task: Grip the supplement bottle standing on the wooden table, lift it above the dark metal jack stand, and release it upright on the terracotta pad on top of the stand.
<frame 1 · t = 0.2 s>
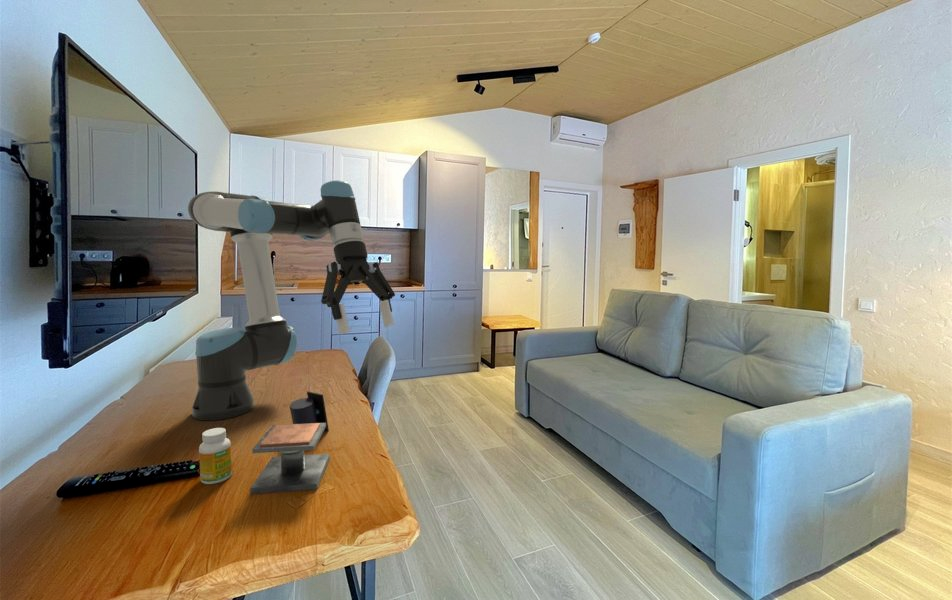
hand: (368, 329, 96), 28 cm above the table, tool tilted 20°, fingers open, 13 cm apart
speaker: (308, 434, 102), on the table
jack stand: (293, 475, 83), on the table
supplement bottle: (216, 478, 82), on the table
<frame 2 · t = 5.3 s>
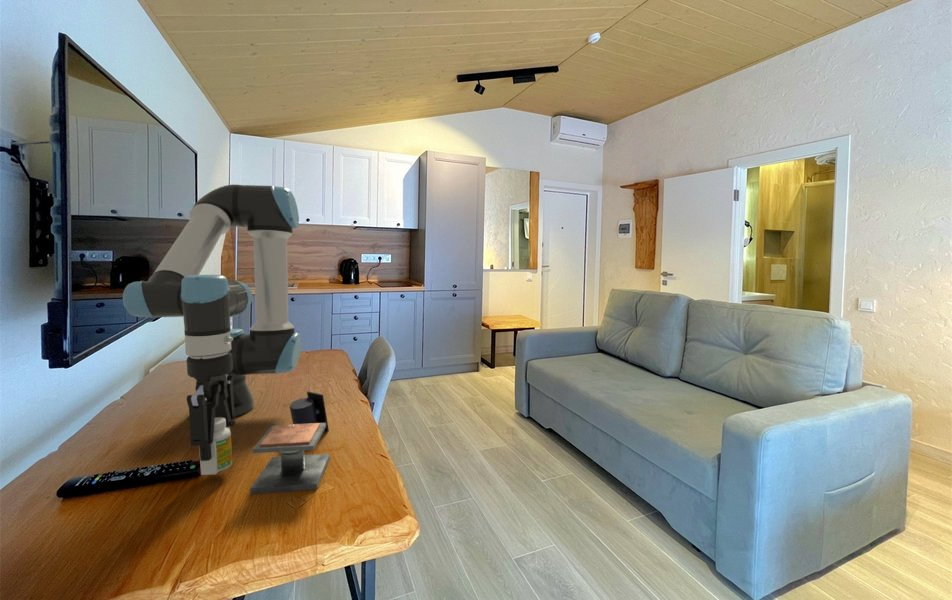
hand: (217, 465, 82), 2 cm above the table, tool pointing down, fingers closed on supplement bottle, 5 cm apart
supplement bottle: (217, 467, 82), point 2 cm above the table, touching gripper
everything else where it was.
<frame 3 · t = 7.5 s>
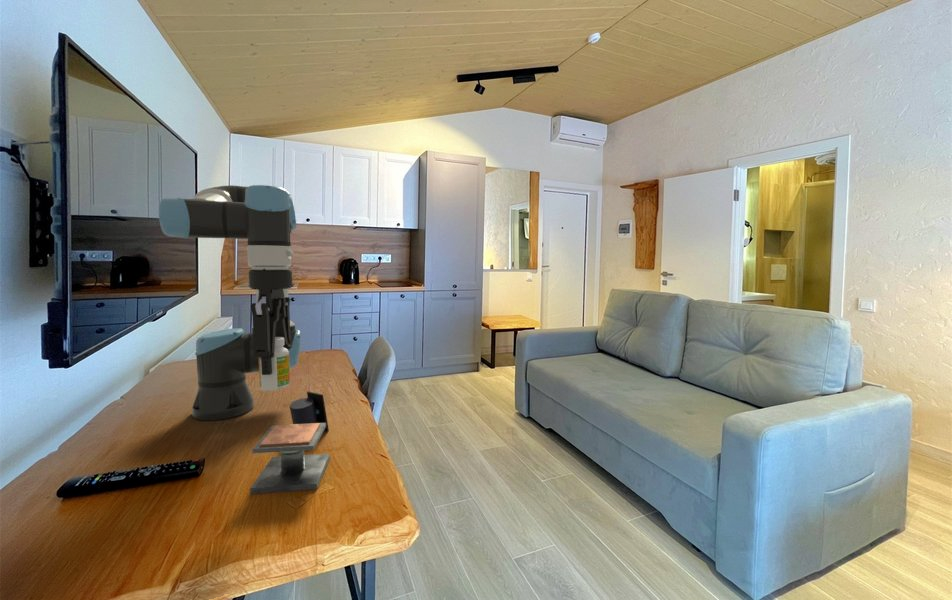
hand: (275, 385, 80), 19 cm above the table, tool pointing down, fingers closed on supplement bottle, 5 cm apart
supplement bottle: (275, 387, 80), point 19 cm above the table, touching gripper
everything else where it was.
when the fingers open (11 cm above the table, at t = 9.9 s): supplement bottle drops 1 cm, resting on jack stand.
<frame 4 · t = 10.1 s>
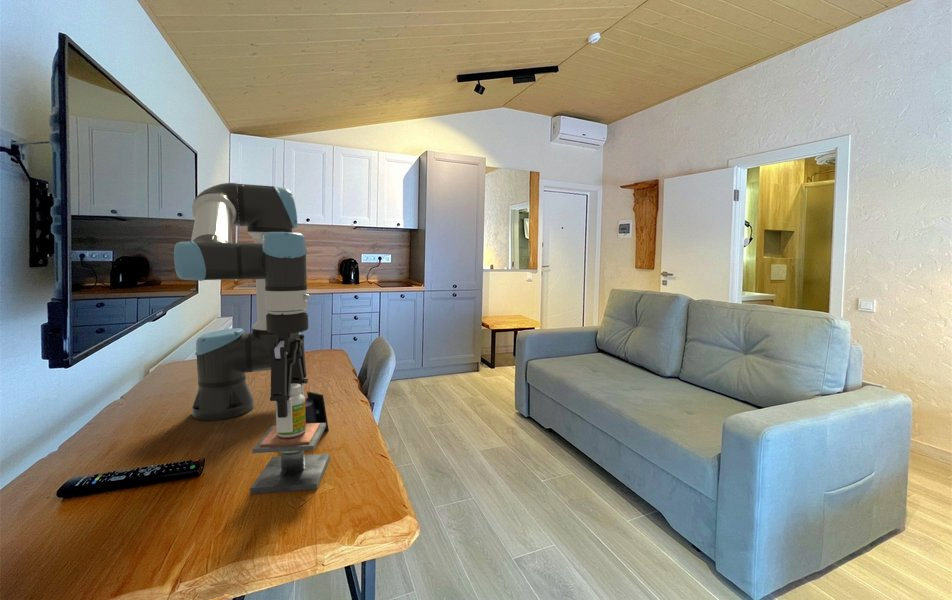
hand: (291, 422, 82), 11 cm above the table, tool pointing down, fingers open, 8 cm apart
supplement bottle: (291, 433, 82), point 9 cm above the table, touching jack stand
everything else where it was.
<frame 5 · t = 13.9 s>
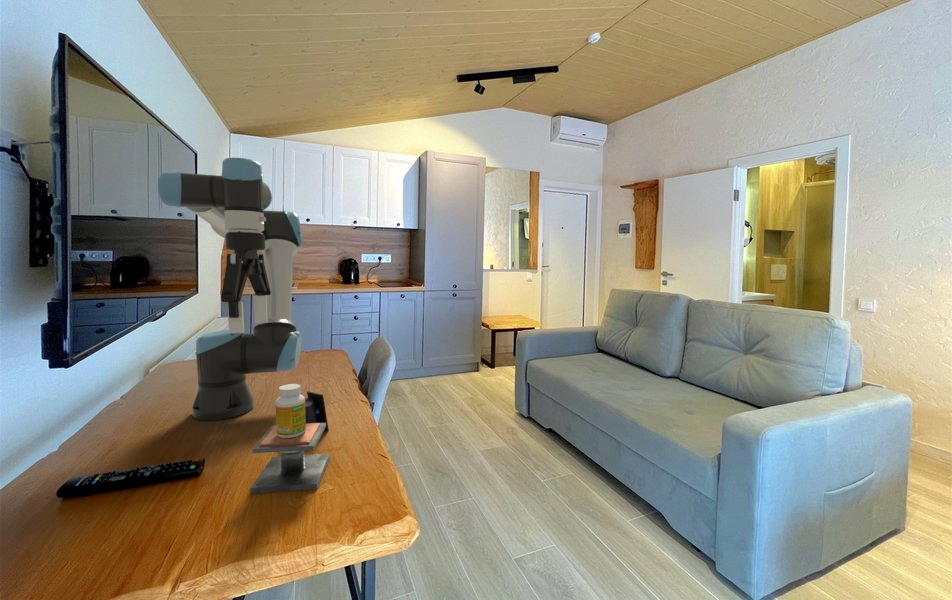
hand: (249, 327, 91), 29 cm above the table, tool pointing down, fingers open, 13 cm apart
nothing on the table moved.
at the end: supplement bottle inside the target area on the jack stand (0.1 cm from its centre), point 8.8 cm above the jack stand's base; supplement bottle tilted 0°; the gripper is holding nothing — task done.
